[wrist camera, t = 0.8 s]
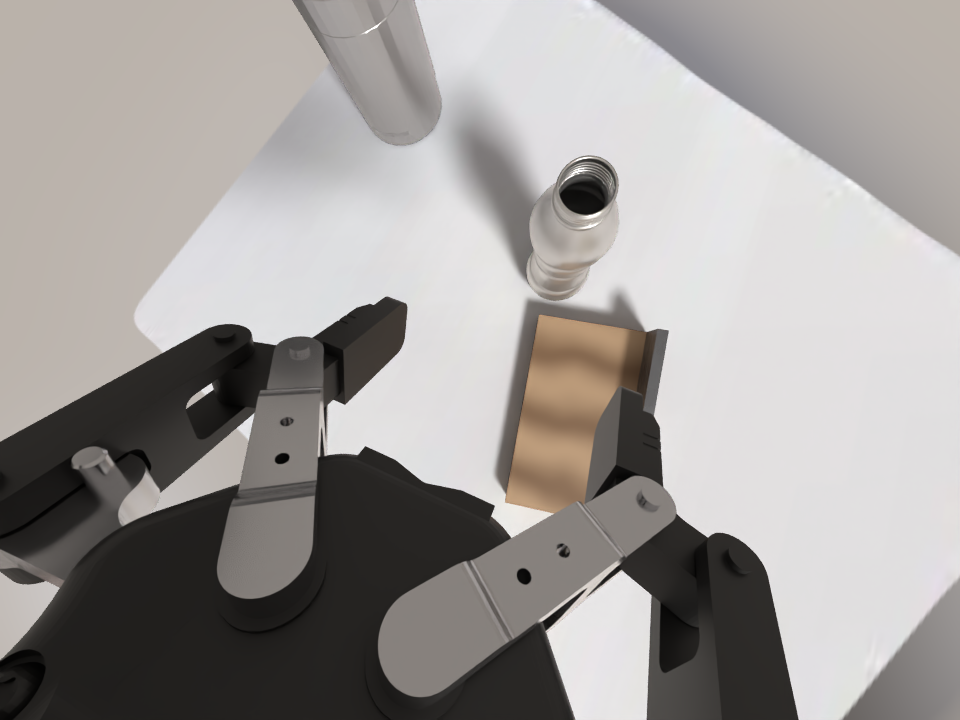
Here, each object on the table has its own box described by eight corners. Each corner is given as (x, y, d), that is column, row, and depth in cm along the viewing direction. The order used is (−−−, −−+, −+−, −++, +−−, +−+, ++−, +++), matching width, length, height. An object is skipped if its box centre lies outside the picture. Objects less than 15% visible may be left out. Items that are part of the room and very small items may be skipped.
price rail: (646, 332, 38) (657, 328, 35) (663, 334, 37) (675, 331, 34) (612, 526, 37) (620, 539, 34) (628, 530, 37) (637, 543, 34)
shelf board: (538, 317, 41) (539, 314, 39) (648, 336, 40) (656, 333, 38) (506, 494, 41) (505, 502, 39) (615, 519, 40) (622, 528, 37)
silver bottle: (594, 259, 41) (665, 151, 21) (569, 314, 41) (615, 260, 21) (541, 237, 42) (560, 113, 22) (516, 291, 42) (512, 218, 22)
